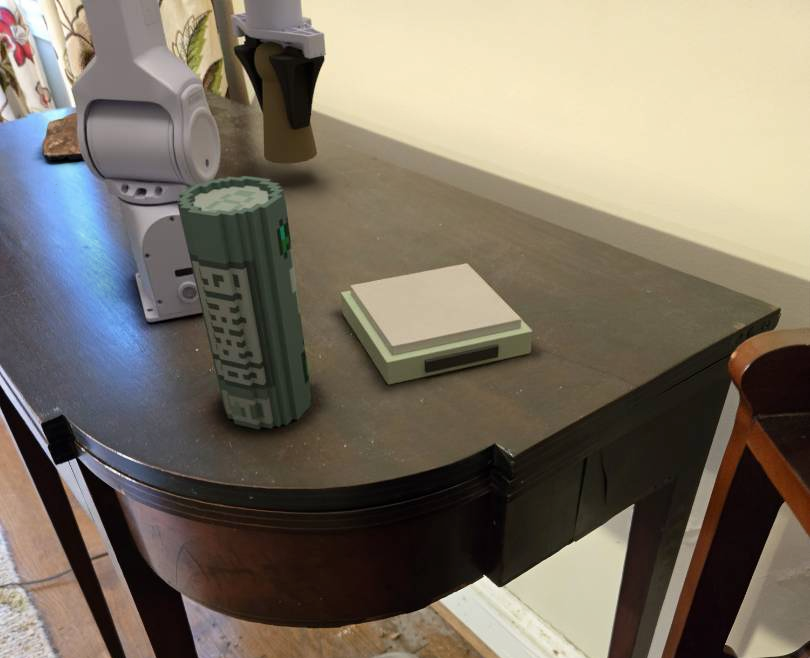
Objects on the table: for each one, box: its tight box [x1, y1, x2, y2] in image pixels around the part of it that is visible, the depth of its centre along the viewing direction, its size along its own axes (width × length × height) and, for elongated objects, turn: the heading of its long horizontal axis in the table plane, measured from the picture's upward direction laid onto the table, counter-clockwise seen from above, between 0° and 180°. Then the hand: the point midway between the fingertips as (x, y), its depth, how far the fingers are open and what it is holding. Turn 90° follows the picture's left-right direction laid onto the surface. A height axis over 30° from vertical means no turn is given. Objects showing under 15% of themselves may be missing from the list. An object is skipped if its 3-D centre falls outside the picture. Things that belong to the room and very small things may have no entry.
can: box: [177, 175, 312, 430], centre depth 52 cm, size 6×6×15 cm
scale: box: [340, 262, 534, 386], centre depth 63 cm, size 12×12×3 cm
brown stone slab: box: [41, 112, 84, 161], centre depth 99 cm, size 12×13×4 cm
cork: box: [254, 41, 318, 165], centre depth 84 cm, size 6×6×11 cm
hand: (286, 121), depth 85 cm, fingers closed on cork, 5 cm apart
